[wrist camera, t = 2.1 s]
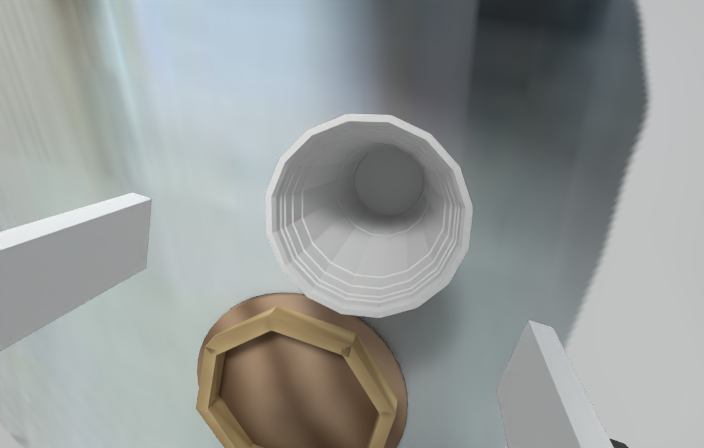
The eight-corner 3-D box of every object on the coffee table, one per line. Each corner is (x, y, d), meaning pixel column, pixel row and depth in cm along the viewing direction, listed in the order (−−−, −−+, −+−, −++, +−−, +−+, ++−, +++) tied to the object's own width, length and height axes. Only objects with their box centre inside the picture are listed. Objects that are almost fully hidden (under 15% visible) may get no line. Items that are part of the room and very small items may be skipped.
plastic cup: (492, 165, 29) (525, 206, 18) (403, 269, 33) (385, 355, 22) (375, 77, 29) (335, 63, 18) (299, 191, 33) (228, 238, 22)
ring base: (334, 256, 34) (324, 270, 31) (447, 443, 38) (448, 471, 35) (165, 340, 41) (145, 357, 38) (273, 492, 44) (262, 519, 41)
